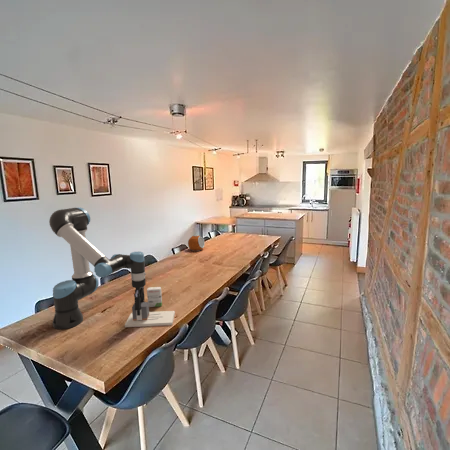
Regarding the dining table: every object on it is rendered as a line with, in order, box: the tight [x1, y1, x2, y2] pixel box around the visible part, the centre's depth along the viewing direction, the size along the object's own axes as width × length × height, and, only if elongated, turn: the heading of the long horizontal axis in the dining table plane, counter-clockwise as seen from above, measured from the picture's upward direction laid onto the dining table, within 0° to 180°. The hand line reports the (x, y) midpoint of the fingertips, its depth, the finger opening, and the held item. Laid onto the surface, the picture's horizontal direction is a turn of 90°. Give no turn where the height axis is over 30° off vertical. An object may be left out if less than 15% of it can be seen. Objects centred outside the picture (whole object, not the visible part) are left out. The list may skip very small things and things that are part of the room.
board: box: [124, 310, 176, 328], centre depth 161 cm, size 26×14×2 cm, turn 94°
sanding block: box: [131, 301, 150, 320], centre depth 160 cm, size 8×6×8 cm
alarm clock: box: [187, 234, 205, 252], centre depth 319 cm, size 19×18×17 cm
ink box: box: [146, 286, 163, 308], centre depth 179 cm, size 9×5×12 cm, turn 96°
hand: (140, 316), depth 160 cm, fingers closed on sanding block, 6 cm apart
